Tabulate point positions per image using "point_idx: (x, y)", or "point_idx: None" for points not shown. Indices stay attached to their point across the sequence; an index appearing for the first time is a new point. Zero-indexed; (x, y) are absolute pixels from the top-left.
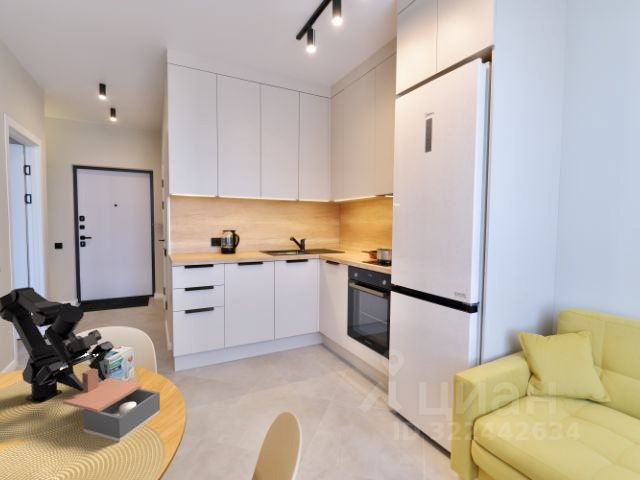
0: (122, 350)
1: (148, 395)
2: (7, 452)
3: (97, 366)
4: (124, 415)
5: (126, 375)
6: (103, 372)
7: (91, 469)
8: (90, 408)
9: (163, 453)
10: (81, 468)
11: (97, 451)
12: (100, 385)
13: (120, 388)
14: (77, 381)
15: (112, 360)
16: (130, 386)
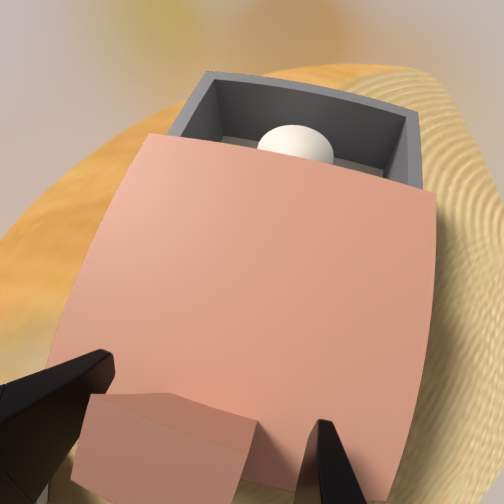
0: None
1: (201, 117)
2: (477, 498)
3: (12, 452)
4: (395, 105)
5: None
6: (64, 374)
7: (484, 185)
8: (434, 247)
9: (387, 73)
10: (492, 211)
11: (441, 210)
12: (144, 390)
13: (190, 212)
14: (345, 496)
15: None
16: (167, 171)
